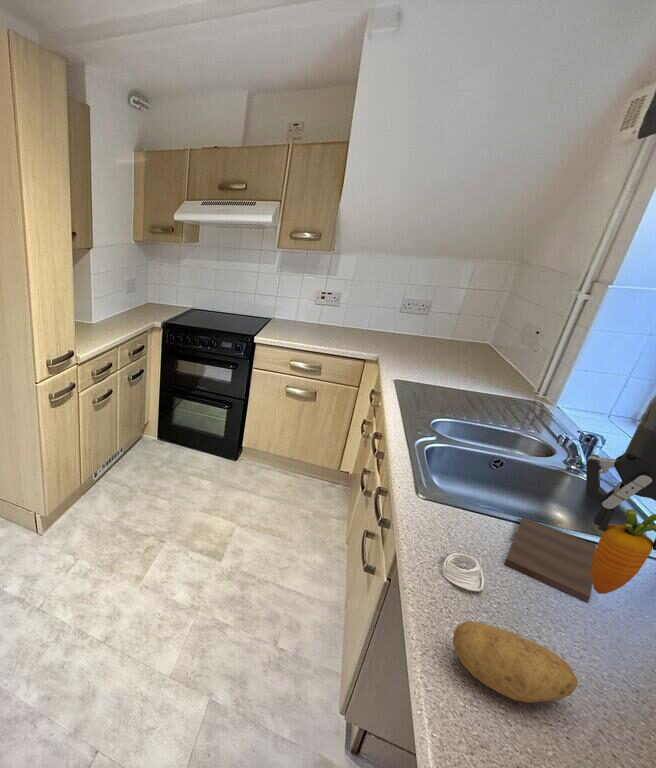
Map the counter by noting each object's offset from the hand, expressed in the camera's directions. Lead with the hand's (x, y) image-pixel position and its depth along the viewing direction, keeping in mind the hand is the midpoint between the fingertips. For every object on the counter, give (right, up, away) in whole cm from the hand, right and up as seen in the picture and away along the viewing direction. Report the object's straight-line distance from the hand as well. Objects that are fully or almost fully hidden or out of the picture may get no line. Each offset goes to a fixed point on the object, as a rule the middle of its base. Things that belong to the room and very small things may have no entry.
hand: (628, 537), depth 58 cm
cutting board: (+16, -15, +28) cm, 35 cm away
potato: (-15, -23, +4) cm, 28 cm away
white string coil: (-7, -16, +22) cm, 28 cm away
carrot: (0, -10, +4) cm, 11 cm away
